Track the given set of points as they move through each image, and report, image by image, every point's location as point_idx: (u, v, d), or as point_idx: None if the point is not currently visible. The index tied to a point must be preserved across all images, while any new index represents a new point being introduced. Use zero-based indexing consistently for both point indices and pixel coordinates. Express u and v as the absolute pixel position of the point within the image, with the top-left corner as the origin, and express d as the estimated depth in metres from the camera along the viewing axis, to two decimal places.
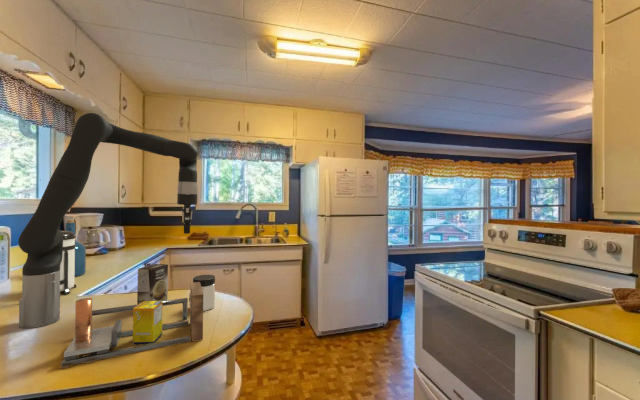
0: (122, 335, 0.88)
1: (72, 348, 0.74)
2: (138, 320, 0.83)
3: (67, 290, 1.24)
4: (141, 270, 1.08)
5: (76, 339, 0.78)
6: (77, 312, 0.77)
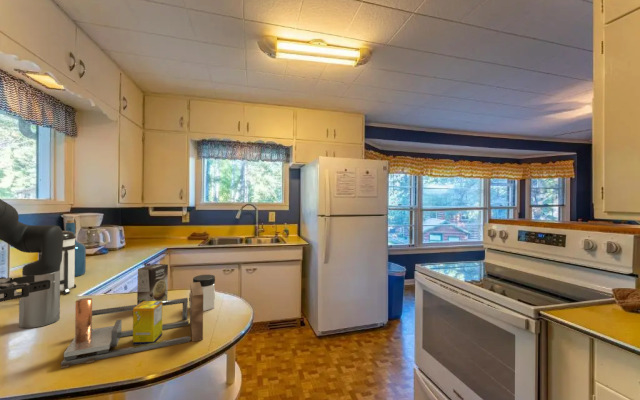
0: (122, 335, 0.88)
1: (72, 348, 0.74)
2: (138, 320, 0.83)
3: (67, 290, 1.24)
4: (141, 270, 1.08)
5: (76, 339, 0.78)
6: (77, 312, 0.77)
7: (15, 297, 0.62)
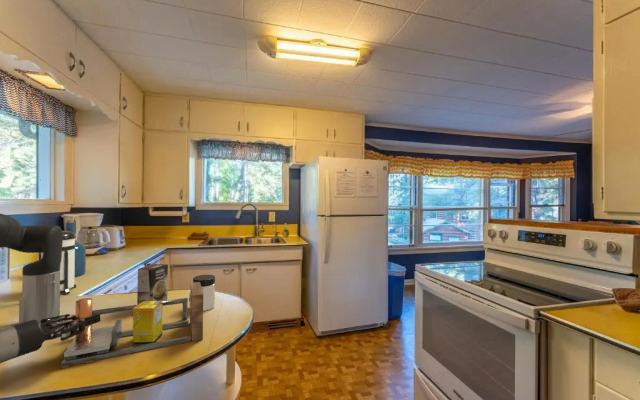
0: (122, 335, 0.88)
1: (72, 348, 0.74)
2: (138, 320, 0.83)
3: (67, 290, 1.24)
4: (141, 270, 1.08)
5: (76, 339, 0.78)
6: (77, 312, 0.77)
7: (77, 332, 0.74)
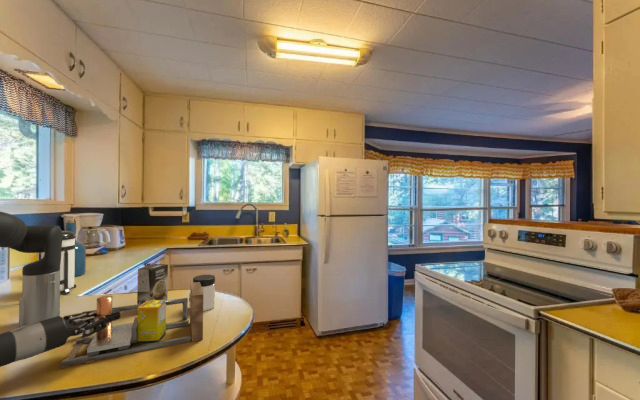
0: None
1: (94, 344, 0.77)
2: (143, 320, 0.84)
3: (67, 290, 1.24)
4: (141, 270, 1.08)
5: (97, 335, 0.80)
6: (98, 310, 0.80)
7: (100, 329, 0.76)
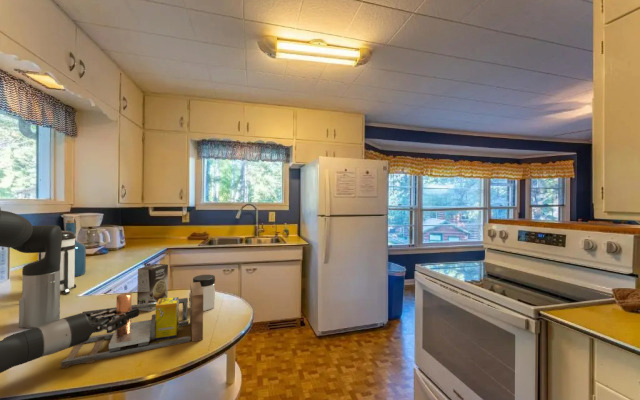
0: None
1: (115, 340, 0.79)
2: (161, 316, 0.86)
3: (67, 290, 1.24)
4: (141, 270, 1.08)
5: (117, 332, 0.82)
6: (118, 307, 0.82)
7: (121, 325, 0.78)
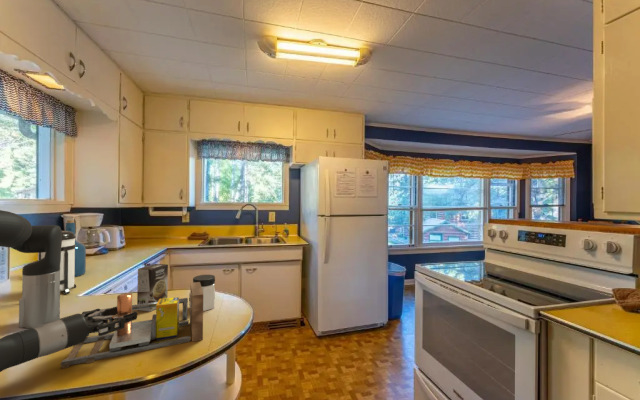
0: None
1: (116, 340, 0.79)
2: (162, 316, 0.86)
3: (67, 290, 1.24)
4: (141, 270, 1.08)
5: (118, 332, 0.82)
6: (119, 307, 0.82)
7: (115, 329, 0.75)
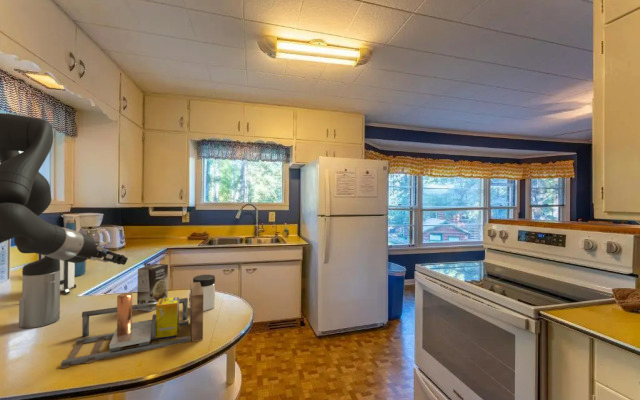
0: None
1: (116, 340, 0.79)
2: (162, 316, 0.86)
3: (67, 290, 1.24)
4: (141, 270, 1.08)
5: (118, 332, 0.82)
6: (119, 307, 0.82)
7: (116, 262, 0.79)
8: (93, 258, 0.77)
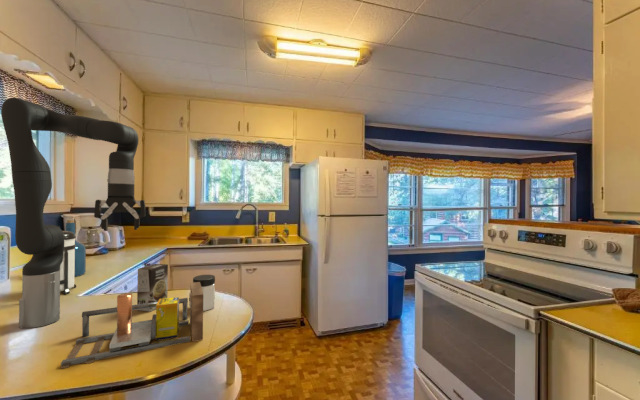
0: None
1: (116, 340, 0.79)
2: (162, 316, 0.86)
3: (67, 290, 1.24)
4: (141, 270, 1.08)
5: (118, 332, 0.82)
6: (119, 307, 0.82)
7: None
8: (127, 204, 0.96)
